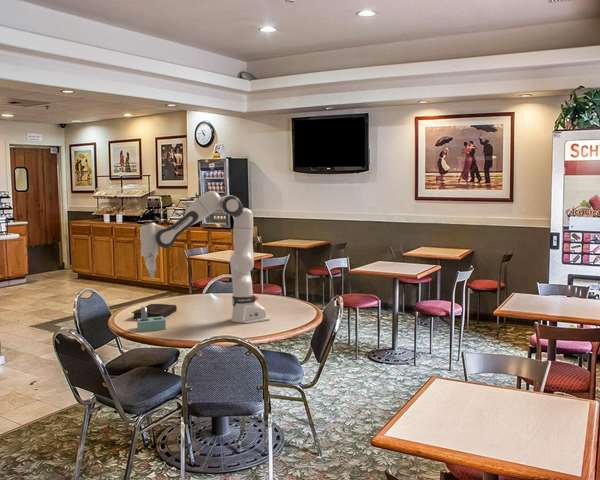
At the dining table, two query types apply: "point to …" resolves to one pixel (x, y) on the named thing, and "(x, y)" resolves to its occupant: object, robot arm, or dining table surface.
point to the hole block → (151, 324)
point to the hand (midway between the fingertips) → (151, 277)
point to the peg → (144, 313)
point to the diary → (156, 310)
